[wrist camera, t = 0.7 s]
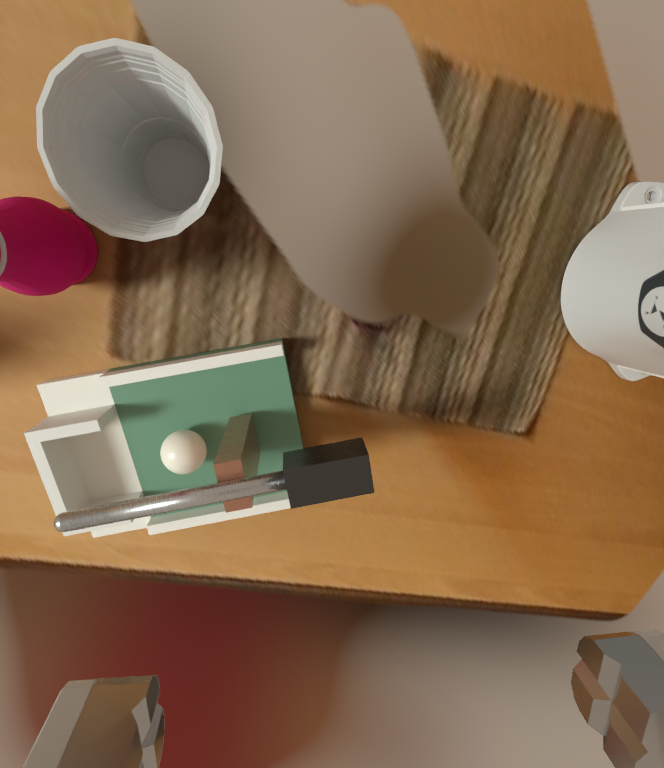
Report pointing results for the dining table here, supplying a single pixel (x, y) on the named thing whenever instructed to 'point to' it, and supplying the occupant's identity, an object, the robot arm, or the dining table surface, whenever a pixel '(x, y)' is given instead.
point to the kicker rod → (247, 480)
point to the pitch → (161, 431)
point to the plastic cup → (129, 140)
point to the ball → (183, 451)
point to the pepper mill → (43, 247)
